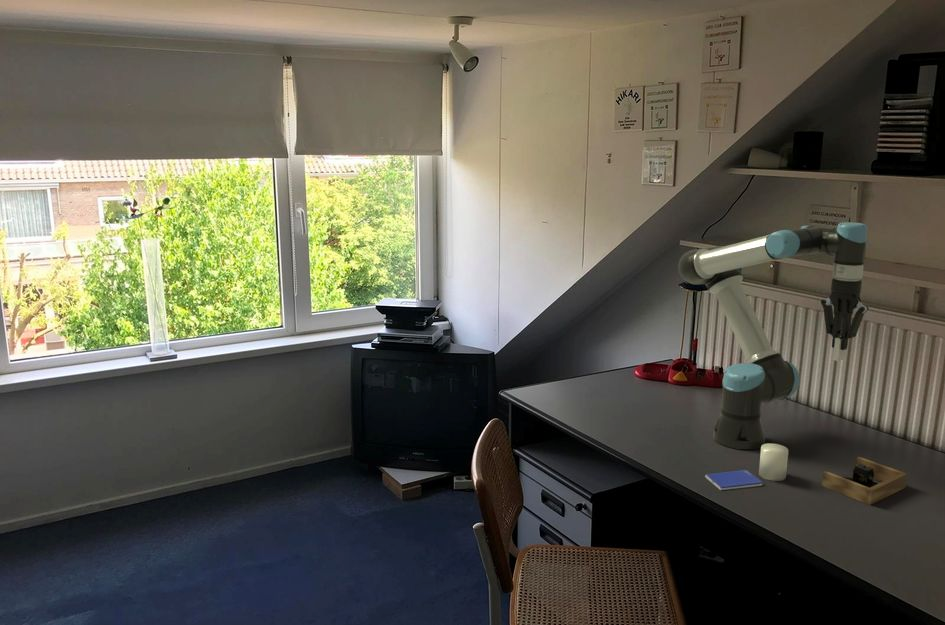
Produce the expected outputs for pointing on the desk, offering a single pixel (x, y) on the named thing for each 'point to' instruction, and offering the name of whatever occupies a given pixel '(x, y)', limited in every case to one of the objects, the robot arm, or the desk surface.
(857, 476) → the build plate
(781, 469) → the cream cylinder
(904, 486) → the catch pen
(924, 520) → the desk surface
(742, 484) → the hard drive
